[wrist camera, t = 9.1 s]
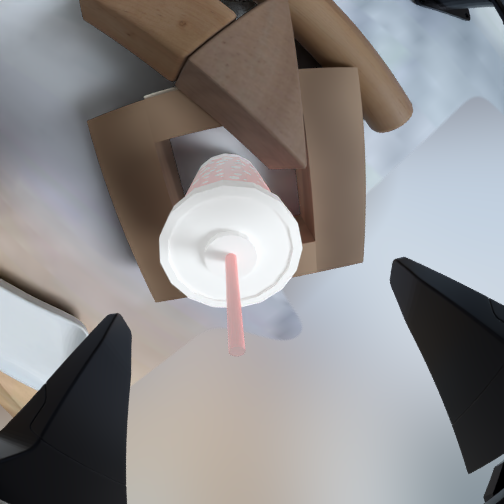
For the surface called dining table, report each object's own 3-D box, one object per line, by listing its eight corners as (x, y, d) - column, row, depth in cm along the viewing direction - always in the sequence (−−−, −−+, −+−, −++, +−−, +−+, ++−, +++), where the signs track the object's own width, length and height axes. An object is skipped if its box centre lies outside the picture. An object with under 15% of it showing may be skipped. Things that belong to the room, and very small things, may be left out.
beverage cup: (232, 238, 22) (247, 413, 10) (166, 192, 19) (100, 355, 8) (288, 180, 20) (378, 329, 8) (221, 124, 17) (216, 208, 5)
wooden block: (73, -16, 5) (351, 222, 14) (231, -91, 6) (422, 100, 14) (80, 20, 9) (311, 213, 17) (212, -60, 9) (384, 105, 18)
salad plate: (99, 308, 25) (89, 333, 22) (83, 392, 34) (78, 411, 31) (-44, 228, 18) (-61, 244, 15) (-24, 335, 27) (-32, 350, 24)
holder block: (331, 67, 15) (357, 64, 12) (343, 234, 23) (363, 262, 19) (111, 111, 16) (86, 117, 12) (163, 269, 23) (155, 302, 19)
